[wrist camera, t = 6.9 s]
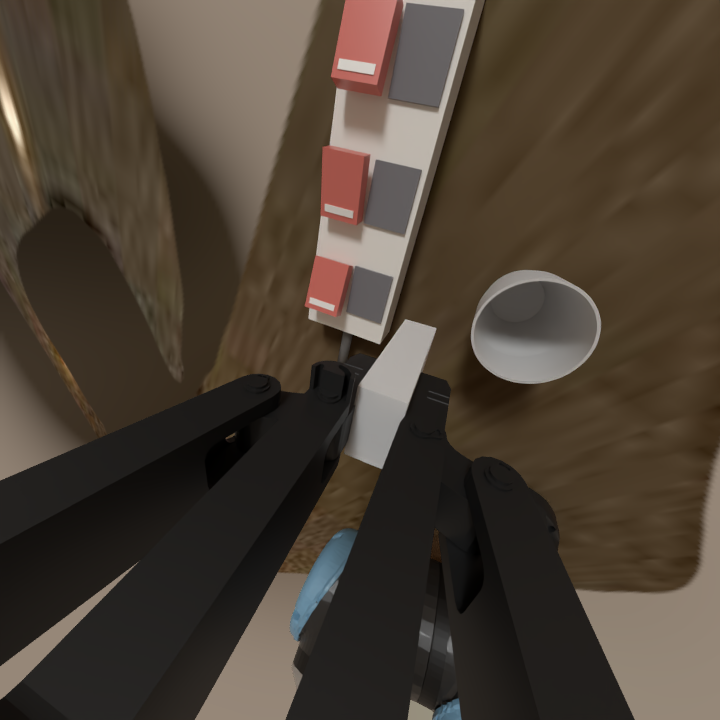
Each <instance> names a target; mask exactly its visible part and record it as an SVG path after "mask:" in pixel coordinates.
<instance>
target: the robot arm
mask: <svg viewBox="0 0 720 720" xmlns="http://www.w3.org/2000/svg"><path fill="white" fill-rule="evenodd" d="M436 329H437V328H434V327H431V326H427V325H424V324H420V323H417V322H413V321H410V320H406V319H405V321H404V322H403V324H402V325H401V326H400V328H399V329H398V331H397V332H396V333H395V335H394V336H393V338H392V339H391V340H390V342H389V343H388V345H387V346H386V347H385V349H384V350H383V352H382V353H381V354H380V356H379V357H378V359H376V358H373V357H370V356H367V355H364V354H361V353H360V354H357V355H354V356H352V357H350V358H349V359H348V360H347V361H346V362H345V364H343V363H340V362H336V361H321V362H317V363H315V364H313V365H312V370H311V379H310V388H309V390H308V391H307V392H306V393H303V394H302V393H291V392H284V391H281V385H280V382H279V381H278V380H277V379H276V378H274V377H272V376H269V375H265V374H250V375H247V376H243V377H241V378H239V379H236V380H234V381H232V382H229V383H227V384H225V385H222V386H220V387H218V388H215V389H213V390H211V391H208V392H206V393H204V394H201V395H199V396H197V397H194V398H192V399H190V400H187V401H185V402H183V403H181V404H178V405H176V406H173V407H171V408H169V409H166V410H164V411H162V412H159V413H157V414H155V415H152V416H150V417H148V418H145V419H143V420H141V421H138V422H136V423H134V424H132V425H129V426H127V427H124V428H122V429H120V430H118V431H115V432H113V433H110V434H108V435H106V436H103V437H101V438H99V439H96V440H94V441H92V442H89V443H87V444H85V445H82V446H80V447H78V448H75V449H73V450H71V451H68V452H66V453H64V454H61V455H59V456H57V457H54V458H52V459H50V460H47V461H45V462H43V463H40V464H38V465H36V466H33V467H31V468H29V469H27V470H24V471H22V472H19V473H17V474H15V475H13V476H10V477H8V478H5V479H3V480H1V481H0V666H1V665H2V664H4V663H5V662H6V661H7V660H9V659H10V658H12V657H13V656H14V655H16V654H17V653H18V652H20V651H21V650H22V649H24V648H25V647H26V646H28V645H29V644H30V643H31V642H33V641H34V640H35V639H36V638H38V637H39V636H41V635H42V634H43V633H45V632H46V631H47V630H49V629H50V628H51V627H53V626H54V625H55V624H56V623H58V622H59V621H61V620H62V619H63V618H65V617H66V616H67V615H69V614H70V613H71V612H72V611H74V610H75V609H76V608H77V607H79V606H80V605H82V604H83V603H84V602H86V601H87V600H88V599H90V598H91V597H92V596H94V595H95V594H96V593H98V592H99V591H100V590H102V589H103V588H104V587H106V586H107V585H108V584H109V583H111V582H112V581H113V580H115V579H116V578H117V577H119V576H120V575H121V574H123V573H124V572H125V571H126V570H128V569H129V568H131V567H132V566H133V565H134V564H136V563H137V562H138V563H137V564H136V565H135V566H134V567H133V568H132V570H130V571H129V573H128V574H126V575H125V576H124V578H123V579H122V580H121V581H120V582H119V583H118V584H117V585H116V586H115V587H114V588H113V589H112V590H111V591H110V592H109V593H108V594H107V595H106V596H105V597H104V598H103V599H102V600H101V601H100V602H99V603H98V604H97V605H96V606H95V607H94V608H93V609H92V610H91V611H90V612H89V613H88V614H87V615H86V616H85V617H84V618H83V619H82V620H81V621H80V622H79V623H78V624H77V625H76V626H75V627H74V628H73V629H72V630H71V631H70V632H69V633H68V634H67V635H66V636H65V637H64V639H62V640H61V642H60V643H59V644H58V645H57V646H56V647H55V648H54V649H53V650H52V651H51V652H50V653H49V654H48V655H47V656H46V657H45V658H44V659H43V660H42V661H41V662H40V663H39V664H38V665H37V666H36V667H35V668H34V669H33V670H32V671H31V672H30V673H29V674H28V675H27V676H26V677H25V678H24V679H23V680H22V681H21V682H20V683H19V684H18V685H17V686H16V687H15V688H13V689H12V690H11V691H10V692H9V693H8V694H7V695H6V696H5V697H3V698H2V699H1V700H0V720H195V718H196V716H197V715H198V713H199V711H200V709H201V707H202V706H203V704H204V702H205V700H206V699H207V697H208V695H209V693H210V691H211V690H212V688H213V686H214V685H215V683H216V681H217V679H218V677H219V675H220V674H221V672H222V670H223V669H224V667H225V665H226V663H227V661H228V660H229V658H230V656H231V654H232V652H233V651H234V649H235V647H236V645H237V644H238V642H239V640H240V638H241V636H242V635H243V633H244V631H245V629H246V627H247V626H248V624H249V622H250V620H251V619H252V617H253V615H254V613H255V612H256V610H257V608H258V606H259V604H260V603H261V601H262V599H263V597H264V596H265V594H266V592H267V590H268V588H269V587H270V585H271V583H272V581H273V580H274V578H275V576H276V574H277V572H278V571H279V569H280V567H281V565H282V564H283V562H284V560H285V558H286V556H287V555H288V553H289V551H290V549H291V548H292V546H293V544H294V542H295V540H296V539H297V537H298V535H299V533H300V532H301V530H302V528H303V526H304V524H305V523H306V521H307V519H308V517H309V516H310V514H311V512H312V510H313V508H314V507H315V505H316V503H317V501H318V500H319V498H320V496H321V494H322V492H323V491H324V489H325V487H326V485H327V484H328V482H329V480H330V478H331V476H332V475H333V473H334V471H335V469H336V468H337V466H338V462H339V458H340V453H341V451H342V450H343V448H344V446H345V445H346V447H345V451H344V454H346V455H349V456H351V457H354V458H356V459H358V460H361V461H363V462H366V463H368V464H370V465H373V466H375V467H378V468H380V469H382V470H381V473H380V476H379V478H378V481H377V483H376V486H375V489H374V491H373V494H372V496H371V499H370V502H369V504H368V507H367V509H366V512H365V515H364V517H363V520H362V522H361V525H360V528H359V530H355V529H352V528H346V529H343V530H341V531H339V532H338V533H336V534H335V535H334V536H333V537H332V538H331V540H330V541H329V542H328V543H327V545H326V546H325V547H324V549H323V550H322V552H321V553H320V555H319V557H318V558H317V560H316V562H315V564H314V565H313V567H312V569H311V571H310V573H309V575H308V577H307V579H306V581H305V583H304V585H303V588H302V590H301V592H300V594H299V597H298V599H297V602H296V605H295V607H296V608H295V610H294V612H293V615H292V618H291V621H290V632H291V634H292V635H293V636H294V639H295V640H296V641H300V644H299V647H298V650H297V652H296V655H295V658H294V661H293V664H292V671H293V675H294V679H295V684H296V688H297V691H296V694H295V696H294V699H293V702H292V704H291V707H290V709H289V712H288V715H287V717H286V720H407V719H408V712H409V711H408V710H409V705H410V700H413V701H415V702H417V703H419V704H421V705H423V706H425V707H427V708H428V709H430V710H432V711H433V712H434V714H433V718H432V720H635V719H634V717H633V715H632V713H631V711H630V708H629V707H628V704H627V702H626V700H625V698H624V695H623V693H622V691H621V689H620V687H619V685H618V682H617V680H616V678H615V676H614V674H613V672H612V670H611V667H610V665H609V663H608V661H607V659H606V656H605V654H604V652H603V650H602V648H601V645H600V644H599V641H598V639H597V637H596V635H595V632H594V630H593V628H592V626H591V624H590V622H589V619H588V617H587V615H586V613H585V611H584V608H583V606H582V604H581V602H580V600H579V598H578V595H577V593H576V591H575V589H574V587H573V584H572V582H571V580H570V578H569V576H568V574H567V571H566V569H565V567H564V565H563V563H562V561H561V558H560V556H559V554H558V546H559V529H558V525H557V521H556V517H555V514H554V512H553V510H552V508H551V506H550V505H549V504H548V503H547V501H546V500H545V499H544V498H543V497H541V496H540V495H539V494H538V493H536V492H535V491H533V490H532V489H530V488H528V487H527V484H526V483H525V481H524V480H523V478H522V477H521V475H520V474H519V473H518V472H517V471H516V470H514V469H513V468H512V467H511V466H509V465H508V464H506V463H504V462H503V461H501V460H498V459H495V458H492V457H480V458H477V459H475V460H474V462H472V461H471V460H469V459H468V458H466V457H464V456H463V455H461V454H460V453H459V452H457V451H456V450H455V449H454V448H453V447H452V446H451V445H450V444H449V442H448V441H447V436H446V432H445V424H446V417H447V411H448V404H449V397H450V391H451V389H450V387H449V385H448V383H447V381H446V380H443V379H440V378H437V377H434V376H431V375H428V374H425V373H422V372H423V368H424V365H425V362H426V359H427V356H428V353H429V350H430V347H431V344H432V341H433V338H434V335H435V332H436ZM233 433H235V436H233V437H231V438H229V439H225V438H226V437H228V436H229V435H231V434H233ZM434 528H436V529H437V530H438V531H439V543H440V551H441V559H442V563H440V562H438V561H436V560H433V559H431V558H430V556H431V549H432V542H433V535H434Z"/></svg>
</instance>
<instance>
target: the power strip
mask: <svg viewBox="0 0 720 720" xmlns="http://www.w3.org/2000/svg"><path fill="white" fill-rule="evenodd" d="M484 2H485V0H403V5H404V6H403V10H402V14H401V18H400V22H399V26H398V31H397V35H396V39H395V43H394V47H393V51H392V55H391V59H390V63H389V67H388V71H387V76H386V80H385V84H384V88H383V92H382V96H376V95H370V94H365V93H359V92H354V91H348V90H343V89H338V88H337V91H336V99H335V107H334V115H333V124H332V132H331V140H330V145H331V146H336V147H340V148H345V149H349V150H353V151H358V152H362V153H367V154H371V155H370V163H369V171H368V179H367V187H366V195H365V203H364V211H363V219H362V222H361V223H359V224H358V225H353V224H349V223H346V222H342V221H339V220H335V219H332V218H328V217H324V216H321V221H320V229H319V237H318V245H317V253H316V256H322V257H325V258H328V259H332V260H335V261H338V262H341V263H344V264H348V265H351V266H353V270H352V274H351V278H350V282H349V286H348V289H347V293H346V297H345V301H344V305H343V309H342V313H341V316H338V317H334V316H331V315H328V314H326V313H323V312H320V311H317V310H314V309H311V308H310V310H309V318H308V319H311V320H314V321H316V322H319V323H322V324H325V325H328V326H330V327H333V328H336V329H339V330H341V331H343V336H342V341H341V346H340V351H339V356H338V362H340V363H343V364H345V362H346V361H347V359H348V355H349V350H350V345H351V341H352V336H353V335H355V336H358V337H361V338H364V339H366V340H369V341H372V342H375V343H378V344H381V342H382V341H383V340H384V338H385V337H386V335H387V334H388V333H389V331H390V327H391V324H392V320H393V317H394V313H395V310H396V307H397V303H398V300H399V296H400V293H401V289H402V286H403V282H404V279H405V275H406V272H407V269H408V265H409V262H410V258H411V255H412V251H413V248H414V244H415V241H416V237H417V234H418V230H419V227H420V224H421V220H422V217H423V213H424V210H425V206H426V203H427V199H428V196H429V192H430V189H431V185H432V182H433V179H434V175H435V172H436V168H437V165H438V161H439V158H440V154H441V151H442V147H443V144H444V140H445V137H446V134H447V130H448V127H449V123H450V120H451V116H452V113H453V109H454V106H455V102H456V99H457V96H458V92H459V89H460V85H461V82H462V78H463V75H464V71H465V68H466V64H467V61H468V57H469V54H470V51H471V47H472V44H473V40H474V37H475V33H476V30H477V26H478V23H479V19H480V16H481V12H482V9H483V6H484Z"/></svg>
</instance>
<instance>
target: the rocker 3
mask: <svg viewBox="0 0 720 720" xmlns="http://www.w3.org/2000/svg"><path fill="white" fill-rule="evenodd" d="M352 270H353V266H351V265H348V264H344V263H341V262H338V261H335V260H332V259H328V258H325V257H322V256H316V257H315V261H314V266H313V271H312V275H311V280H310V285H309V289H308V294H307V299H306V303H305V306H306V307H308V308H311V309H314V310H317V311H320V312H323V313H326V314H328V315H331V316H334V317H338V316H341V313H342V309H343V305H344V301H345V297H346V293H347V289H348V286H349V282H350V278H351V274H352Z"/></svg>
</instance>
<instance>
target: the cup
mask: <svg viewBox="0 0 720 720" xmlns="http://www.w3.org/2000/svg"><path fill="white" fill-rule="evenodd" d="M600 331H601V320H600V315H599V312H598V309H597V307H596V305H595V303H594V302H593V300H592V299H591V298H590V297H589V296H588V295H587V294H586V293H585V292H584V291H583V290H581V289H580V288H578V287H577V286H575V285H573V284H571V283H569V282H567V281H566V280H564V279H562V278H560V277H558V276H556V275H554V274H551V273H548V272H543V271H533V270H521V271H515V272H512V273H509V274H506V275H504V276H503V277H501V278H499V279H498V280H497V281H495V282H494V283H493V284H492V285H491V286H490V288H489V289H488V290H487V291H486V292H485V294H484V295H483V296H482V298H481V300H480V302H479V304H478V306H477V310H476V313H475V317H474V321H473V325H472V329H471V343H472V347H473V350H474V353H475V355H476V357H477V358H478V360H479V361H480V363H481V364H482V365H483V366H484V367H485V368H486V369H487V370H488V371H490V372H491V373H493V374H494V375H496V376H498V377H500V378H502V379H505V380H508V381H511V382H516V383H524V384H535V383H543V382H548V381H552V380H555V379H558V378H561V377H563V376H565V375H567V374H569V373H571V372H572V371H574V370H575V369H577V368H578V367H579V366H580V365H582V364H583V363H584V362H585V361H586V360H587V359H588V357H589V356H590V355H591V353H592V352H593V350H594V349H595V347H596V345H597V342H598V340H599V336H600Z"/></svg>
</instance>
